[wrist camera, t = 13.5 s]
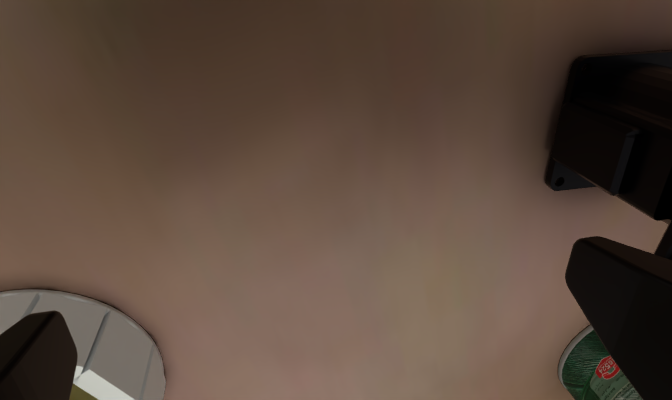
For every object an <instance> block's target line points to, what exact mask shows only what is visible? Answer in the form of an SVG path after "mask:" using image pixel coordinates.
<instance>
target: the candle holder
mask: <svg viewBox="0 0 672 400" xmlns="http://www.w3.org/2000/svg"><path fill="white" fill-rule="evenodd" d="M53 310H55V311H58V312H60V313H61V314H62V315H63V317H64V319H65V321H66V324H67V326H68V328H69V331H70V333H71V336H72V338H73V340H74V343H75V345H76V348H77V354H78V359H77V366H76V371H75V375H74V380H73V384H75V385H76V386H78V387H79V388H81V389H83V390H84V391H86V392H87V393H89V394H91V395H92V396H94V397H95V398H97V399H98V400H163V398H164V392H165V387H166V380H165V376H164V366H163V361H162V357H161V354H160V352H159V349H158V347H157V346H156V344H155V342H154V341H153V339H152V338H151V337H150V335H149V334H148V333H147V332H146V331H145V330H144V329H143V328H142V327H141V326H140V325H139V324H138V323H137V322H135V321H134V320H133V319H131V318H130V317H128V316H127V315H125V314H124V313H122V312H121V311H119V310H117V309H115V308H113V307H111V306H109V305H107V304H104V303H102V302H99V301H97V300H94V299H91V298H88V297H84V296H81V295H77V294H72V293H67V292H62V291H53V290H39V289H24V290H11V291H4V292H0V334H2V333H3V332H4V331H6V330H7V329H9V328H10V327H11V326H13V325H14V324H15V323H17V322H18V321H20V320H21V319H22V318H24V317H25V316H27V315H29V314H32V313H38V312H46V311H53Z"/></svg>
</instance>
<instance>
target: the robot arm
mask: <svg viewBox="0 0 672 400" xmlns="http://www.w3.org/2000/svg"><path fill="white" fill-rule="evenodd" d="M585 64H586V68H585V70H584V71H583V72H582V68H583V66H584V65H585ZM558 178H559V180H558V181H557V182H556V183H555V181H556V180H557V179H558ZM546 184H547V186H548V187H550V188H551V189H553V190H554V191H561V190H569V189H578V188H587V187H595V186H597V187H599V188H600V189H602V190H604V191H605V192H607V193H608V194H610V195H613V196H617V197H618V198H620V199H622V200H623V201H625V202H626V203H628V204H630V205H631V206H633V207H635V208H636V209H638V210H639V211H641V212H643V213H644V214H646V215H648V216H649V217H651V218H653V219H654V220H658V221H659V220H662V221H663V222H665V223H667V224H668V227H667V229H666V231H665V233H664V235H663V237H662V239H661V241H660V243H659V245H658V247H657V249H656V251H655V252H654V254H651V253H648V252H645V251H642V250H639V249H636V248H633V247H630V246H627V245H624V244H621V243H618V242H615V241H612V240H609V239H606V238H603V237H598V236H596V237H588V238H581V239H579V240H577V241H576V242H575V243H574V245H573V248H572V251H571V255H570V258H569V262H568V266H567V269H566V273H565V279H566V283H567V286H568V288H569V290H570V291H571V293H572V295H573V296H574V298H575V299H576V301H577V303H578V304H579V306H580V308H581V309H582V311H583V313H584V314H585V316H586V317H587V319H588V321H589V322H590V324H591V326H592V327H593V329H594V330H595V332H596V334H597V335H598V337H599V339H600V340H601V342H602V343H603V345H604V347H605V348H606V350H607V351H608V353H609V354H610V356H611V357H612V359H613V360H614V362H615V363H616V364H617V366H618V367H619V369H620V370H621V371H622V373H623V374H624V375H625V377H626V378H627V379H628V381H629V382H630V383H631V385H632V386H633V387H634V389H635V390H636V391H637V393H638V394H639V395H640V397H641V398H642V399H643V400H672V50H662V51H647V52H631V53H615V54H600V55H584V56H580V57H578V58H577V59H576V60H575V61H574V62H573V64H572V66H571V69H570V74H569V78H568V83H567V87H566V92H565V96H564V100H563V105H562V109H561V114H560V118H559V123H558V127H557V131H556V136H555V140H554V145H553V149H552V154H551V159H550V163H549V167H548V172H547V176H546ZM77 359H78V354H77V348H76V345H75V343H74V340H73V338H72V336H71V333H70V331H69V328H68V326H67V324H66V321H65V319H64V317H63V315H62V314H61V313H60V312H58V311H55V310H53V311H46V312H38V313H32V314H29V315H27V316H25V317H24V318H22V319H21V320H20V321H18V322H17V323H15V324H14V325H13V326H11V327H10V328H9V329H7V330H6V331H4V332H3V333H2V334H0V400H69V399H70V395H71V390H72V385H73V380H74V375H75V371H76V366H77Z"/></svg>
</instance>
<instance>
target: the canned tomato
mask: <svg viewBox="0 0 672 400" xmlns="http://www.w3.org/2000/svg"><path fill="white" fill-rule="evenodd" d="M558 376H559V380H560V381H561V383H562V385H563V386H564V387H565V388H566V389H567V390H568V391H569V392H570V394H571V395H572V396H573V398H574V399H575V400H643V399H642V398H641V397H640V395H639V394H638V393H637V391H636V390H635V389H634V387H633V386H632V385H631V383H630V382H629V381H628V379H627V378H626V377H625V375H624V374H623V373H622V371H621V370H620V369H619V367H618V366H617V364H616V363H615V362H614V360H613V359H612V357H611V356H610V354H609V353H608V351H607V350H606V348H605V347H604V345H603V343H602V342H601V340H600V339H599V337H598V335H597V334H596V332H595V330H594V329H593V327H592V326H591V325H589V326H588V327H587V328H585V329H584V330H583V331H582V332H580V333H579V334H578V335H577V336H576V337H575V338H574V339H573V340H572V341H571V343H570V344H569V345H568V347H567V348H566V349H565V351H564V353H563V355H562V357H561V359H560V362H559V366H558Z"/></svg>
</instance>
